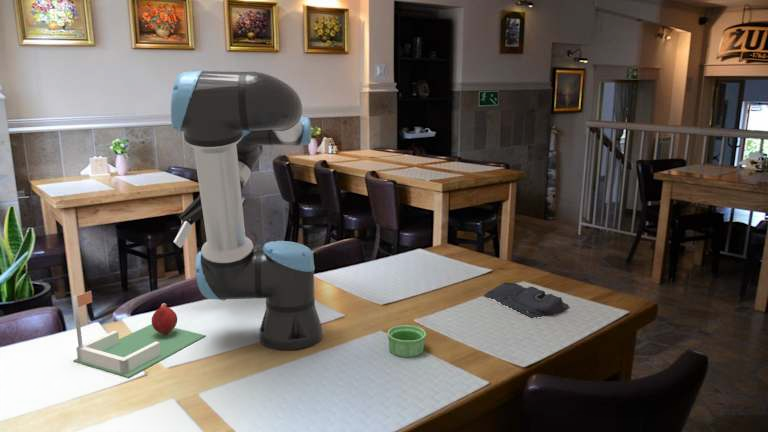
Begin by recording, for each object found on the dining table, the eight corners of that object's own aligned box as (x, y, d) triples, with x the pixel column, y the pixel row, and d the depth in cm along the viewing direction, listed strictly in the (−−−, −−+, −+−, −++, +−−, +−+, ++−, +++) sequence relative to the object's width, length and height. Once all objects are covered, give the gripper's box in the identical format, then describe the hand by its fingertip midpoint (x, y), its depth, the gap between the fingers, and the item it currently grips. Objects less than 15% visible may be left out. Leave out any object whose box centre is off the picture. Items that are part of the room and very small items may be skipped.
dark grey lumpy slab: (516, 287, 178) (517, 273, 177) (574, 311, 160) (575, 294, 159) (478, 297, 170) (479, 282, 169) (535, 322, 152) (536, 305, 151)
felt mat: (205, 336, 141) (205, 335, 141) (128, 378, 121) (128, 376, 121) (154, 324, 148) (154, 322, 148) (73, 361, 128) (73, 360, 128)
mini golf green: (160, 354, 131) (155, 292, 127) (124, 374, 122) (117, 307, 119) (115, 342, 137) (109, 282, 133) (77, 360, 128) (70, 296, 125)
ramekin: (398, 362, 129) (399, 344, 128) (380, 346, 137) (380, 329, 136) (432, 354, 133) (433, 336, 132) (413, 339, 141) (413, 322, 140)
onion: (169, 340, 138) (167, 309, 136) (148, 338, 139) (145, 307, 137) (182, 330, 143) (180, 300, 142) (161, 328, 145) (159, 298, 143)
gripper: (274, 191, 156) (240, 260, 146) (204, 184, 166) (168, 249, 156) (261, 174, 150) (225, 245, 140) (190, 168, 160) (152, 234, 150)
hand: (195, 247), depth 148 cm, fingers open, 12 cm apart
